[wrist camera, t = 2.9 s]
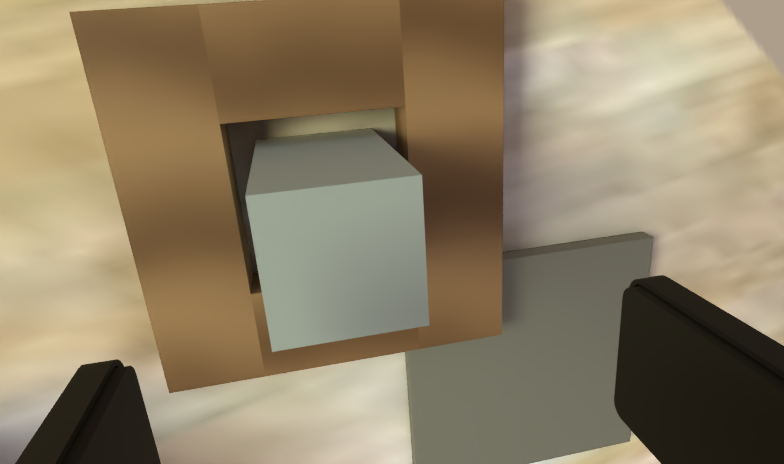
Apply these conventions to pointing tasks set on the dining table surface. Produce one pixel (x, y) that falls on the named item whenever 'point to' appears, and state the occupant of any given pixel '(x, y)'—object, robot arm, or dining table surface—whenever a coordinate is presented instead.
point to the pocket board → (281, 100)
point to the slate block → (337, 237)
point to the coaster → (532, 362)
